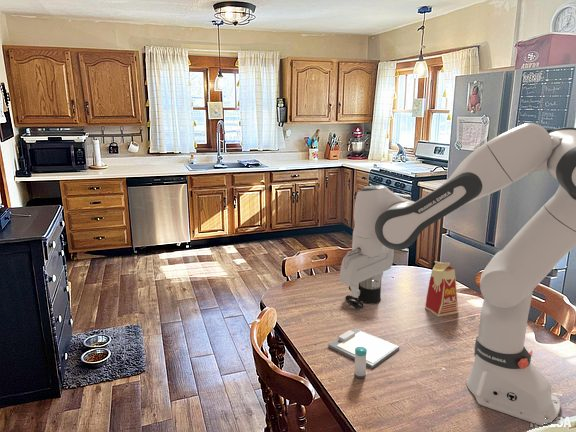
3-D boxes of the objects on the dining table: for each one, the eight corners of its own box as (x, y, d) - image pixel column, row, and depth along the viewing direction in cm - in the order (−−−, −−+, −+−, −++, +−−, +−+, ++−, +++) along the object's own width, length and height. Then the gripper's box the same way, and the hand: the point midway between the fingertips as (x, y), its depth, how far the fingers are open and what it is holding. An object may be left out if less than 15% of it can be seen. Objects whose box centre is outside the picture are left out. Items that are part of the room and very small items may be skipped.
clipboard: (399, 349, 139) (399, 343, 138) (372, 368, 129) (372, 362, 128) (356, 330, 151) (356, 324, 150) (328, 347, 140) (328, 341, 140)
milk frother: (381, 295, 179) (382, 261, 175) (382, 312, 164) (384, 276, 160) (346, 293, 181) (347, 259, 178) (344, 309, 166) (345, 273, 163)
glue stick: (368, 375, 125) (369, 349, 123) (361, 380, 123) (362, 354, 121) (358, 371, 128) (359, 345, 125) (351, 375, 125) (352, 349, 123)
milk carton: (458, 312, 163) (463, 263, 158) (438, 317, 160) (443, 266, 155) (441, 303, 171) (445, 255, 167) (422, 307, 168) (426, 258, 163)
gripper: (354, 256, 108) (351, 306, 111) (398, 239, 122) (395, 284, 125) (335, 249, 112) (333, 298, 116) (380, 234, 126) (376, 278, 130)
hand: (365, 291), depth 121 cm, fingers open, 8 cm apart
